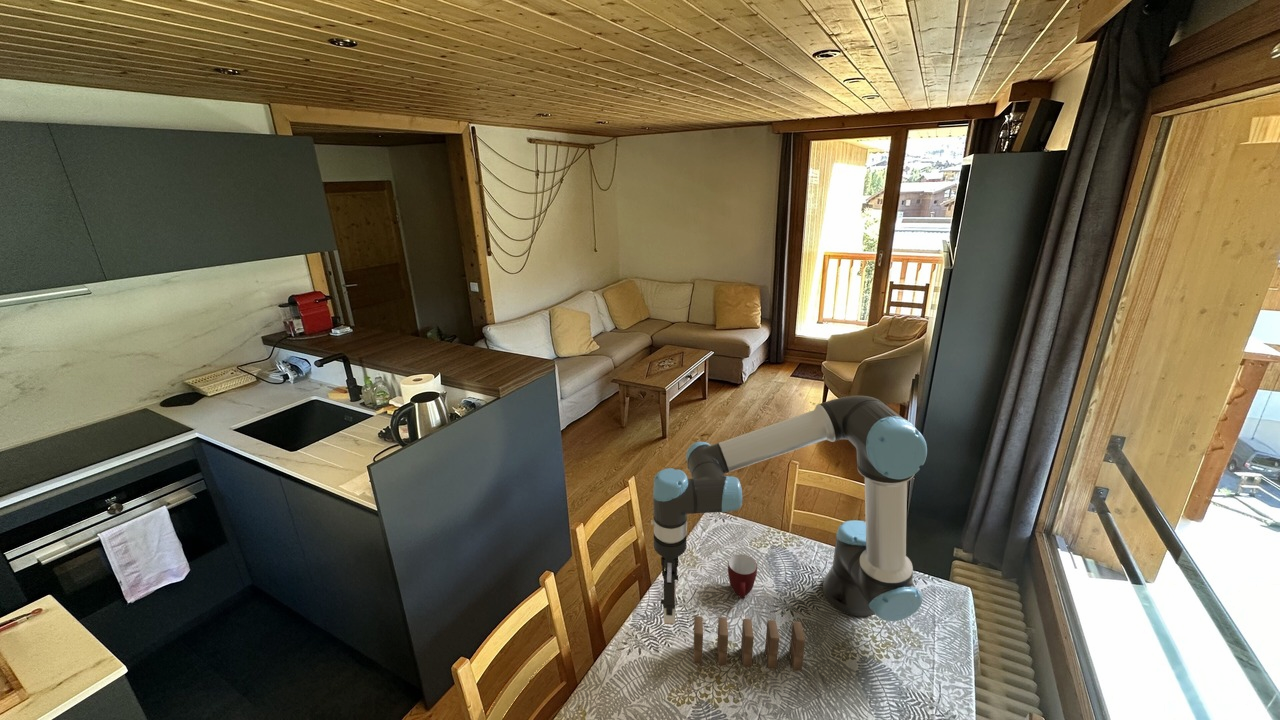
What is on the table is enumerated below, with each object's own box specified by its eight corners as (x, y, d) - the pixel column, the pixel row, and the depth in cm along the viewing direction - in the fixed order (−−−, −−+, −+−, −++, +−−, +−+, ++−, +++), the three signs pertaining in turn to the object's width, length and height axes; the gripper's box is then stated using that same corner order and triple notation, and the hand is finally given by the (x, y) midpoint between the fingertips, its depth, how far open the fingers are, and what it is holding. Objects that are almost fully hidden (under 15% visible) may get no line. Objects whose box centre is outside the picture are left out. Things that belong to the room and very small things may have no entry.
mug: (759, 610, 136) (761, 581, 133) (729, 609, 136) (731, 581, 133) (752, 581, 146) (754, 554, 143) (725, 580, 146) (726, 553, 143)
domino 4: (748, 649, 125) (751, 619, 121) (751, 667, 120) (753, 636, 117) (740, 648, 125) (742, 618, 122) (742, 666, 120) (744, 636, 117)
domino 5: (773, 650, 124) (775, 620, 121) (776, 668, 120) (779, 638, 116) (764, 650, 124) (767, 620, 121) (767, 668, 120) (770, 637, 116)
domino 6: (797, 652, 124) (800, 622, 120) (801, 670, 119) (805, 639, 116) (788, 651, 124) (792, 621, 121) (792, 670, 119) (796, 639, 116)
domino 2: (701, 646, 126) (702, 616, 123) (702, 664, 121) (703, 633, 118) (693, 645, 126) (694, 615, 123) (693, 663, 121) (694, 633, 118)
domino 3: (725, 647, 125) (726, 617, 122) (726, 665, 121) (728, 635, 117) (716, 647, 126) (718, 617, 122) (718, 665, 121) (719, 634, 117)
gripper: (655, 508, 121) (656, 582, 128) (650, 561, 104) (651, 643, 112) (686, 509, 120) (685, 584, 128) (686, 563, 103) (685, 645, 111)
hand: (669, 611), depth 120 cm, fingers closed on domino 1, 5 cm apart
